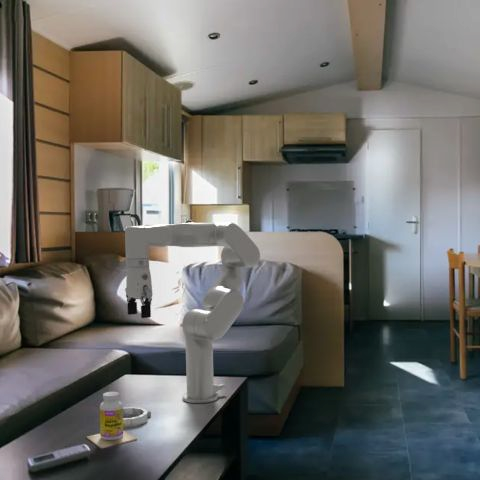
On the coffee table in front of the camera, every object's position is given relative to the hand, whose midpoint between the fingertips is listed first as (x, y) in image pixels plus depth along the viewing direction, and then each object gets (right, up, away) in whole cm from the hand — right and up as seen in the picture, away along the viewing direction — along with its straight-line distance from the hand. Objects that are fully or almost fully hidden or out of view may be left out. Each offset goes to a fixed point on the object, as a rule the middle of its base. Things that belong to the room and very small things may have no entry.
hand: (139, 315), depth 208 cm
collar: (-3, -33, -6) cm, 33 cm away
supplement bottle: (-4, -33, -22) cm, 40 cm away
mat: (-5, -33, -22) cm, 40 cm away
